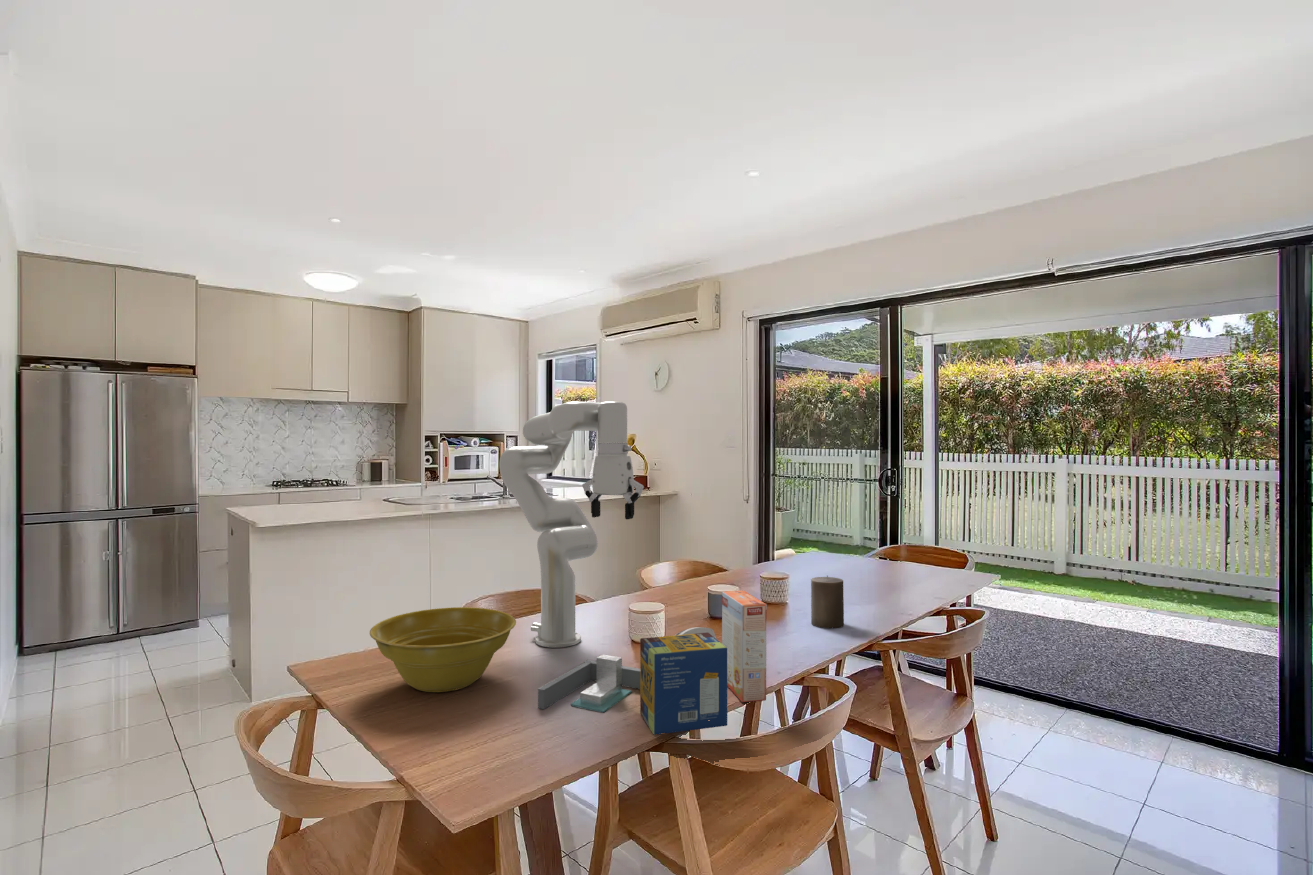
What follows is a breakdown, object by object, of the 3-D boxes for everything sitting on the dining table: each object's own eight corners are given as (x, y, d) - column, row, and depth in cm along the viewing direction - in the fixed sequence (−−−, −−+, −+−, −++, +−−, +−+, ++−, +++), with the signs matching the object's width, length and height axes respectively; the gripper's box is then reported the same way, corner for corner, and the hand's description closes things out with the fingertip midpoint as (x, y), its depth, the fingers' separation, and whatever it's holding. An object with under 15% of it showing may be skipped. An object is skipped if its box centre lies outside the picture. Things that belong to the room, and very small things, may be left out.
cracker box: (768, 701, 139) (767, 603, 139) (741, 703, 138) (741, 604, 138) (745, 678, 153) (745, 589, 153) (721, 680, 151) (720, 590, 152)
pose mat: (570, 705, 137) (570, 703, 137) (600, 686, 147) (600, 684, 147) (603, 712, 133) (603, 710, 133) (631, 692, 144) (631, 690, 144)
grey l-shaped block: (602, 687, 146) (602, 654, 146) (621, 691, 143) (621, 657, 143) (580, 702, 137) (580, 666, 138) (600, 706, 135) (600, 670, 135)
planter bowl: (544, 673, 156) (544, 617, 157) (437, 722, 129) (437, 654, 129) (450, 651, 173) (450, 600, 173) (338, 691, 145) (338, 630, 145)
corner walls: (536, 707, 136) (536, 688, 136) (587, 676, 154) (587, 659, 154) (613, 724, 128) (613, 703, 128) (657, 689, 146) (657, 671, 146)
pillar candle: (847, 629, 193) (847, 578, 194) (814, 628, 193) (814, 578, 194) (838, 620, 203) (838, 572, 203) (807, 620, 203) (807, 572, 203)
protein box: (639, 713, 133) (639, 637, 133) (710, 705, 137) (709, 631, 137) (653, 736, 123) (652, 653, 123) (729, 726, 127) (728, 646, 127)
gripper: (649, 450, 165) (649, 518, 164) (591, 450, 172) (591, 514, 172) (635, 450, 158) (635, 521, 158) (575, 450, 165) (575, 517, 165)
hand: (612, 517), depth 165 cm, fingers open, 9 cm apart
